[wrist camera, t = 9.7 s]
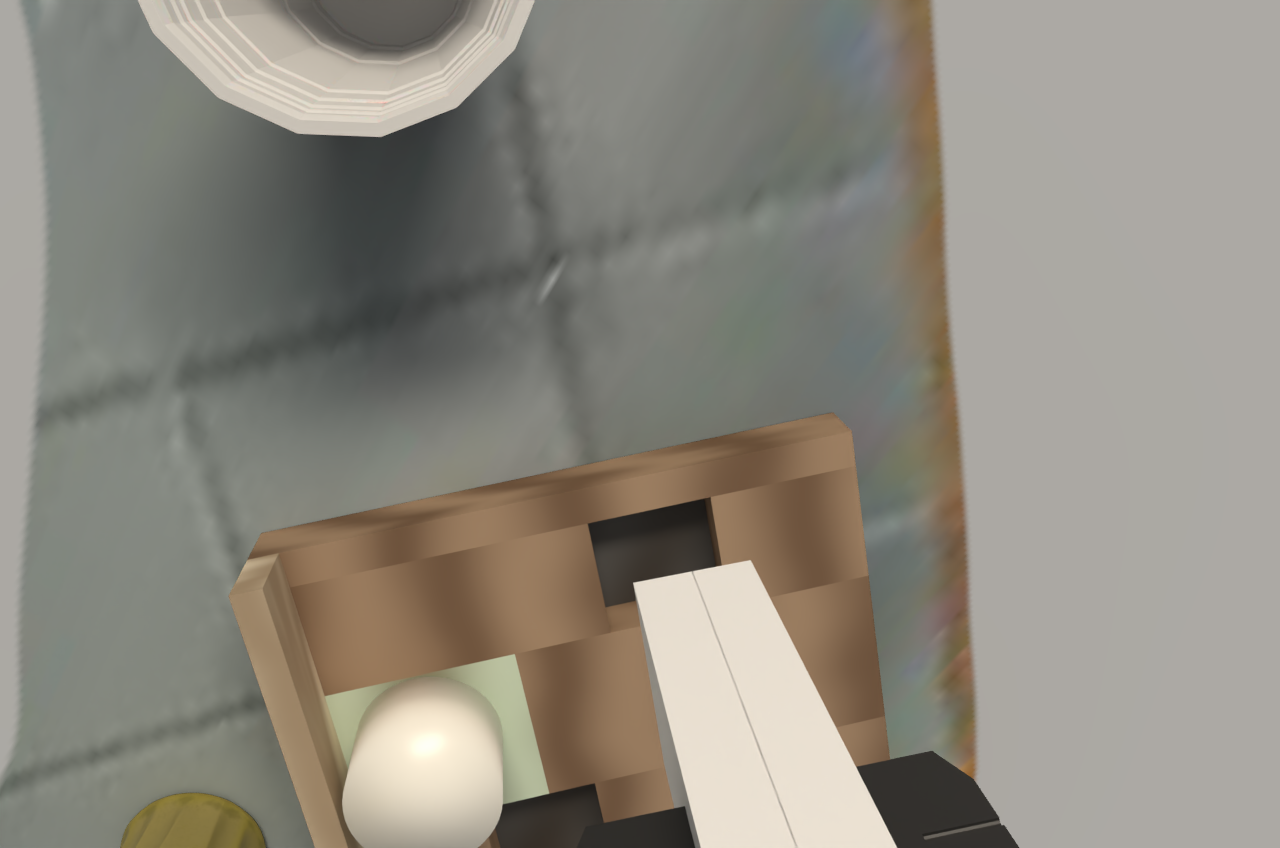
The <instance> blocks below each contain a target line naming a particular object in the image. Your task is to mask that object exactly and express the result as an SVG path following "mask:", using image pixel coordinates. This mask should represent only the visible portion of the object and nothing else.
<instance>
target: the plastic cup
mask: <svg viewBox="0 0 1280 848" xmlns="http://www.w3.org/2000/svg"><path fill="white" fill-rule="evenodd" d="M534 1H535V0H138V2H139V4H140V6H141V8H142V10H143V12H144V15H145V17H146V19H147V21H148V23H149V25H150V27H151V29H152V32H153V33H154V34H155V35H156V36H157V37H158V38H159V39H160V40H161V41H162V42H163V43H164V44H165V45H166V46H167V47H168V48H169V49H170V50H171V51H172V52H173V53H174V54H175V55H176V56H177V57H178V58H179V59H180V60H181V61H182V62H183V63H184V64H185V65H186V66H187V67H188V68H189V69H190V70H191V71H192V72H193V73H194V74H195V75H196V76H197V77H198V78H199V79H200V80H201V81H202V82H203V83H204V84H205V85H206V86H207V87H208V88H209V89H210V90H211V91H212V92H213V93H214V94H215V95H216V96H217V97H218V98H220V99H222V100H224V101H226V102H229V103H231V104H233V105H235V106H237V107H240V108H242V109H244V110H246V111H249V112H251V113H253V114H255V115H257V116H260V117H262V118H264V119H266V120H268V121H271V122H273V123H275V124H277V125H280V126H282V127H284V128H286V129H288V130H291V131H293V132H295V133H297V134H316V135H342V136H368V137H382V136H385V135H387V134H390V133H392V132H395V131H398V130H400V129H403V128H405V127H408V126H411V125H413V124H416V123H418V122H421V121H423V120H426V119H429V118H431V117H434V116H436V115H439V114H441V113H444V112H447V111H449V110H452V109H454V108H457V107H458V106H459V105H460V104H461V103H462V102H463V101H464V100H465V99H466V98H467V97H468V96H469V95H470V94H471V93H472V92H473V91H474V90H475V89H476V88H477V87H478V86H479V85H480V84H481V83H482V82H483V81H484V80H485V79H486V78H487V77H488V76H489V75H490V74H491V73H492V72H493V71H494V70H495V69H496V68H497V67H498V66H499V65H500V64H501V63H502V62H503V61H504V60H505V59H506V58H507V57H508V56H509V55H510V54H511V53H512V52H513V51H514V50H515V48H516V45H517V43H518V41H519V38H520V36H521V33H522V31H523V28H524V26H525V23H526V21H527V18H528V16H529V14H530V11H531V9H532V6H533V4H534Z"/></svg>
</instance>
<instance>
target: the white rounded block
mask: <svg viewBox="0 0 1280 848" xmlns="http://www.w3.org/2000/svg"><path fill="white" fill-rule="evenodd" d="M502 805H503V730H502V725H501V722H500V718H499V716H498V714H497V712H496V710H495V709H494V707H493V706H492V704H491V703H490V702H489V701H488V700H487V699H486V697H485V696H483V695H482V694H481V693H480V692H478V691H477V690H476V689H474V688H472V687H471V686H469V685H467V684H464V683H462V682H459V681H456V680H453V679H448V678H443V677H420V678H414V679H410V680H406V681H403V682H401V683H398V684H396V685H394V686H392V687H390V688H388V689H386V690H385V691H384V692H382V693H381V694H379V695H378V696H377V697H376V698H375V699H374V700H373V701H372V702H371V703H370V705H369V706H368V707H367V708H366V710H365V712H364V713H363V715H362V717H361V720H360V722H359V725H358V729H357V733H356V738H355V742H354V746H353V751H352V755H351V760H350V764H349V769H348V773H347V777H346V782H345V786H344V791H343V798H342V808H343V814H344V819H345V821H346V824H347V826H348V828H349V830H350V832H351V834H352V835H353V836H354V838H355V839H356V840H357V841H358V843H359V844H360V845H362V846H363V847H364V848H478V847H479V846H480V845H481V844H483V843H484V842H485V840H486V839H487V838H488V837H489V836H490V835H491V833H492V832H493V830H494V829H495V827H496V825H497V823H498V821H499V818H500V815H501V812H502Z"/></svg>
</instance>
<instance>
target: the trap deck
mask: <svg viewBox="0 0 1280 848" xmlns="http://www.w3.org/2000/svg"><path fill="white" fill-rule="evenodd" d="M748 560H751V562H752V564H753V566H754V568H755V570H756V572H757V573H758V575H759V577H760V579H761V581H762V583H763V585H764V587H765V589H766V591H767V593H768V595H769V597H770V599H771V601H772V603H773V605H774V607H775V609H776V611H777V613H778V615H779V617H780V619H781V621H782V623H783V625H784V627H785V628H786V630H787V632H788V634H789V636H790V638H791V640H792V642H793V644H794V646H795V648H796V650H797V652H798V654H799V656H800V658H801V660H802V662H803V664H804V666H805V668H806V670H807V672H808V674H809V676H810V678H811V680H812V682H813V683H814V685H815V687H816V689H817V691H818V693H819V695H820V697H821V699H822V701H823V703H824V705H825V707H826V709H827V711H828V713H829V715H830V717H831V719H832V721H833V723H834V725H835V727H836V729H837V731H838V733H839V735H840V737H841V739H842V740H843V742H844V744H845V746H846V748H847V750H848V752H849V754H850V756H851V758H852V760H853V762H854V764H855V766H856V767H857V766H862V765H867V764H872V763H876V762H881V761H886V760H890V756H889V747H888V739H887V730H886V721H885V713H884V704H883V696H882V687H881V678H880V670H879V661H878V653H877V644H876V636H875V627H874V618H873V610H872V601H871V593H870V584H869V575H868V567H867V558H866V550H865V541H864V532H863V524H862V515H861V507H860V498H859V489H858V481H857V472H856V464H855V455H854V446H853V438H852V431H851V430H850V429H849V428H848V427H847V426H846V425H845V424H844V423H843V422H842V421H841V420H840V419H839V418H838V417H837V416H836V415H835V414H834V413H828V414H824V415H819V416H814V417H809V418H805V419H800V420H795V421H790V422H786V423H781V424H776V425H772V426H767V427H762V428H757V429H753V430H748V431H743V432H738V433H734V434H729V435H724V436H719V437H715V438H710V439H705V440H701V441H696V442H691V443H686V444H682V445H677V446H672V447H667V448H663V449H658V450H653V451H648V452H644V453H639V454H634V455H630V456H625V457H620V458H615V459H611V460H606V461H601V462H596V463H592V464H587V465H582V466H577V467H573V468H568V469H563V470H559V471H554V472H549V473H544V474H540V475H535V476H530V477H525V478H521V479H516V480H511V481H507V482H502V483H497V484H492V485H488V486H483V487H478V488H473V489H469V490H464V491H459V492H454V493H450V494H445V495H440V496H436V497H431V498H426V499H421V500H417V501H412V502H407V503H402V504H398V505H393V506H388V507H383V508H379V509H374V510H369V511H365V512H360V513H355V514H350V515H346V516H341V517H336V518H331V519H327V520H322V521H317V522H312V523H308V524H303V525H298V526H294V527H289V528H284V529H279V530H275V531H270V532H265V533H261V535H260V537H259V539H258V541H257V542H256V544H255V546H254V548H253V550H252V552H251V554H250V556H249V558H248V560H247V562H246V564H245V566H244V567H243V569H242V571H241V573H240V575H239V577H238V579H237V581H236V583H235V585H234V587H233V589H232V590H231V592H230V594H229V599H230V602H231V605H232V608H233V611H234V613H235V616H236V619H237V622H238V625H239V628H240V631H241V634H242V637H243V640H244V643H245V645H246V648H247V651H248V654H249V657H250V660H251V663H252V666H253V669H254V672H255V675H256V677H257V680H258V683H259V686H260V689H261V692H262V695H263V698H264V701H265V704H266V706H267V709H268V712H269V715H270V718H271V721H272V724H273V727H274V730H275V733H276V736H277V738H278V741H279V744H280V747H281V750H282V753H283V756H284V759H285V762H286V765H287V768H288V770H289V773H290V776H291V779H292V782H293V785H294V788H295V791H296V794H297V797H298V800H299V802H300V805H301V808H302V811H303V814H304V817H305V820H306V823H307V826H308V829H309V832H310V834H311V837H312V840H313V843H314V846H315V848H364V847H363V846H362V845H360V844H359V843H358V841H357V840H356V839H355V838H354V836H353V835H352V834H351V832H350V830H349V828H348V826H347V824H346V821H345V819H344V814H343V808H342V798H343V791H344V786H345V782H346V777H347V773H348V769H349V764H350V760H351V755H352V751H353V746H354V742H355V738H356V733H357V729H358V725H359V722H360V720H361V717H362V715H363V713H364V712H365V710H366V708H367V707H368V706H369V705H370V703H371V702H372V701H373V700H374V699H375V698H376V697H377V696H378V695H379V694H381V693H382V692H384V691H385V690H386V689H388V688H390V687H392V686H394V685H396V684H398V683H401V682H403V681H406V680H410V679H414V678H420V677H443V678H448V679H453V680H456V681H459V682H462V683H464V684H467V685H469V686H471V687H472V688H474V689H476V690H477V691H478V692H480V693H481V694H482V695H483V696H485V697H486V699H487V700H488V701H489V702H490V703H491V704H492V706H493V707H494V709H495V710H496V712H497V714H498V716H499V718H500V722H501V725H502V730H503V805H502V812H501V815H500V818H499V821H498V823H497V825H496V827H495V829H494V830H493V832H492V833H491V835H490V836H489V837H488V838H487V839H486V840H485V842H484V843H483V844H481V845H480V846H479V847H478V848H577V846H578V844H579V841H580V839H581V837H582V834H583V832H584V829H585V827H587V826H592V825H596V824H601V823H606V822H611V821H616V820H620V819H625V818H630V817H635V816H639V815H644V814H649V813H654V812H659V811H663V810H668V809H673V808H674V804H673V800H672V796H671V791H670V787H669V783H668V778H667V774H666V770H665V766H664V760H663V754H662V748H661V743H660V737H659V731H658V725H657V719H656V713H655V707H654V702H653V696H652V690H651V684H650V678H649V672H648V667H647V661H646V655H645V649H644V643H643V637H642V631H641V626H640V620H639V614H638V608H637V602H636V596H635V590H634V585H633V583H635V582H640V581H645V580H650V579H656V578H661V577H666V576H671V575H676V574H681V573H687V572H692V571H697V570H702V569H707V568H712V567H717V566H723V565H728V564H733V563H738V562H743V561H748Z"/></svg>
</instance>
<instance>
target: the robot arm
mask: <svg viewBox="0 0 1280 848" xmlns="http://www.w3.org/2000/svg"><path fill="white" fill-rule="evenodd" d="M633 585H634V590H635V596H636V602H637V608H638V614H639V620H640V626H641V631H642V637H643V643H644V649H645V655H646V661H647V667H648V672H649V678H650V684H651V690H652V696H653V702H654V707H655V713H656V719H657V725H658V731H659V737H660V743H661V748H662V754H663V760H664V766H665V770H666V774H667V778H668V783H669V787H670V791H671V796H672V800H673V804H674V808H673V809H668V810H663V811H659V812H654V813H649V814H644V815H639V816H635V817H630V818H625V819H620V820H616V821H611V822H606V823H601V824H596V825H592V826H587V827H585V829H584V832H583V834H582V837H581V839H580V841H579V844H578V846H577V848H1019V847H1018V845H1017V844H1016V842H1015V841H1014V839H1013V838H1012V836H1011V835H1010V833H1009V832H1008V830H1007V829H1006V827H1005V826H1004V825H1003V826H1002V825H1001V823H1000V821H999V817H998V815H997V814H996V812H995V811H994V809H993V808H992V806H991V805H990V803H989V802H988V800H987V799H986V797H985V796H984V794H983V793H982V791H981V790H980V788H979V787H978V785H977V784H976V782H975V781H974V779H972V778H971V777H970V776H968V775H967V774H965V773H964V772H962V771H961V770H959V769H958V768H956V767H955V766H953V765H952V764H950V763H949V762H947V761H946V760H945V759H943V758H942V757H940V756H939V755H937V754H936V753H934V752H933V751H929V752H924V753H920V754H915V755H910V756H905V757H900V758H896V759H891V760H886V761H881V762H876V763H872V764H867V765H862V766H857V767H856V766H855V764H854V762H853V760H852V758H851V756H850V754H849V752H848V750H847V748H846V746H845V744H844V742H843V740H842V739H841V737H840V735H839V733H838V731H837V729H836V727H835V725H834V723H833V721H832V719H831V717H830V715H829V713H828V711H827V709H826V707H825V705H824V703H823V701H822V699H821V697H820V695H819V693H818V691H817V689H816V687H815V685H814V683H813V682H812V680H811V678H810V676H809V674H808V672H807V670H806V668H805V666H804V664H803V662H802V660H801V658H800V656H799V654H798V652H797V650H796V648H795V646H794V644H793V642H792V640H791V638H790V636H789V634H788V632H787V630H786V628H785V627H784V625H783V623H782V621H781V619H780V617H779V615H778V613H777V611H776V609H775V607H774V605H773V603H772V601H771V599H770V597H769V595H768V593H767V591H766V589H765V587H764V585H763V583H762V581H761V579H760V577H759V575H758V573H757V572H756V570H755V568H754V566H753V564H752V562H751V560H748V561H743V562H738V563H733V564H728V565H723V566H717V567H712V568H707V569H702V570H697V571H692V572H687V573H681V574H676V575H671V576H666V577H661V578H656V579H650V580H645V581H640V582H635V583H633Z"/></svg>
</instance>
